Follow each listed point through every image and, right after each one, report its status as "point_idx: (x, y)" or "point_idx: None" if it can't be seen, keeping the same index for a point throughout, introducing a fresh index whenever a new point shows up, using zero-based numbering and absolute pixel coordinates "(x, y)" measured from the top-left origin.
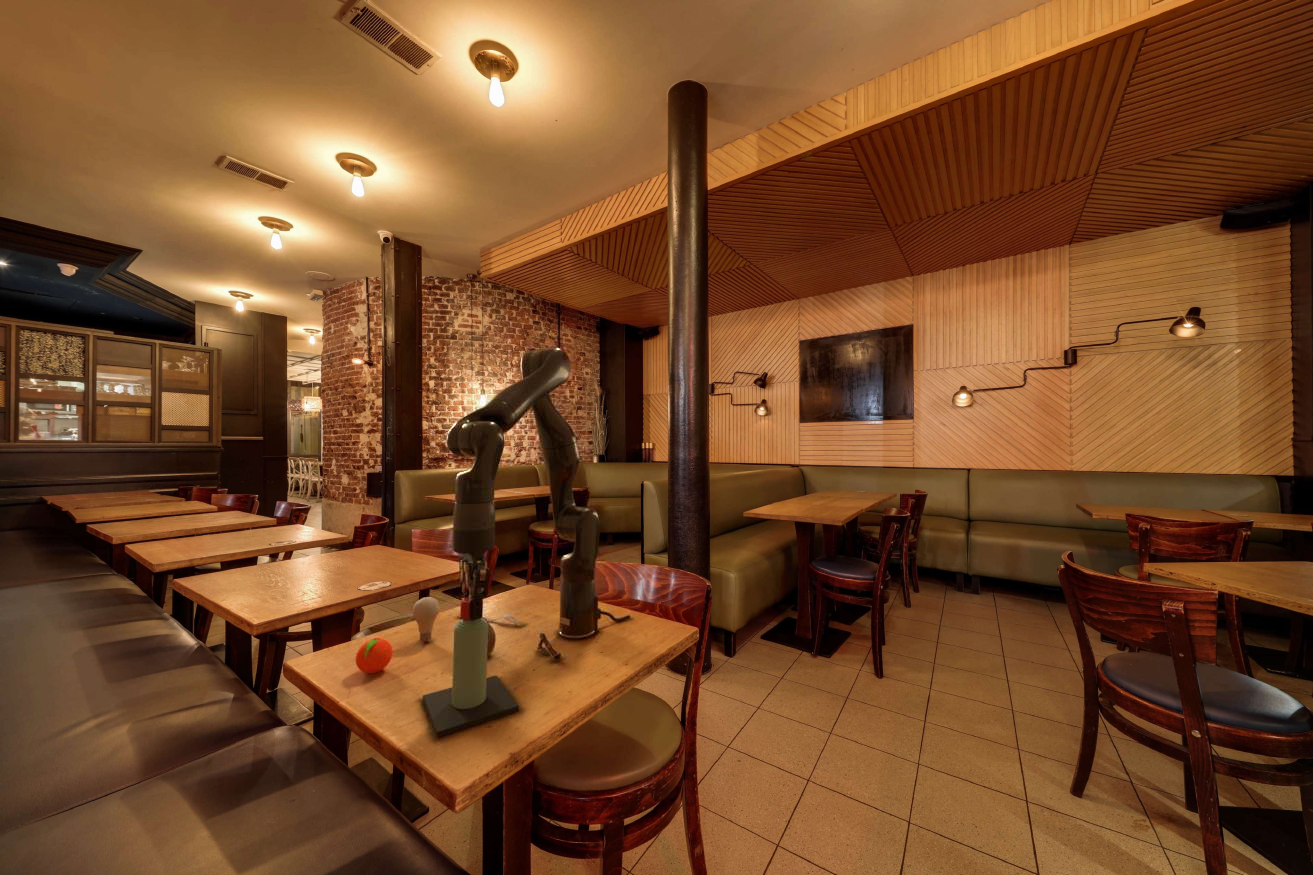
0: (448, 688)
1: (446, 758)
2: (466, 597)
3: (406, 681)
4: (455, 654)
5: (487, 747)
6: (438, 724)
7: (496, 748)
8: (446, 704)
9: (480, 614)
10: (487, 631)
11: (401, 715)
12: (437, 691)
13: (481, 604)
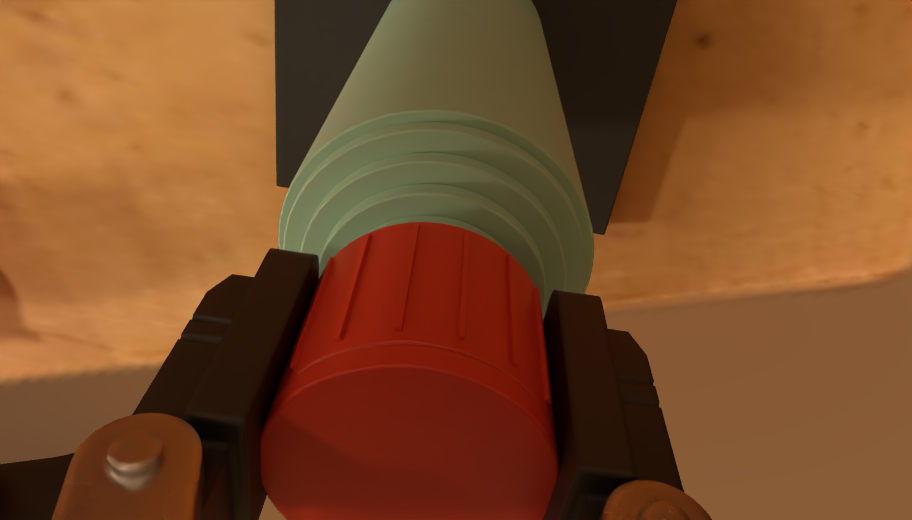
0: (277, 81)
1: (743, 239)
2: (293, 499)
3: (59, 173)
4: None
5: (826, 112)
6: None
7: (867, 89)
8: None
9: (642, 359)
10: (532, 117)
11: None
12: (278, 130)
13: (617, 417)
